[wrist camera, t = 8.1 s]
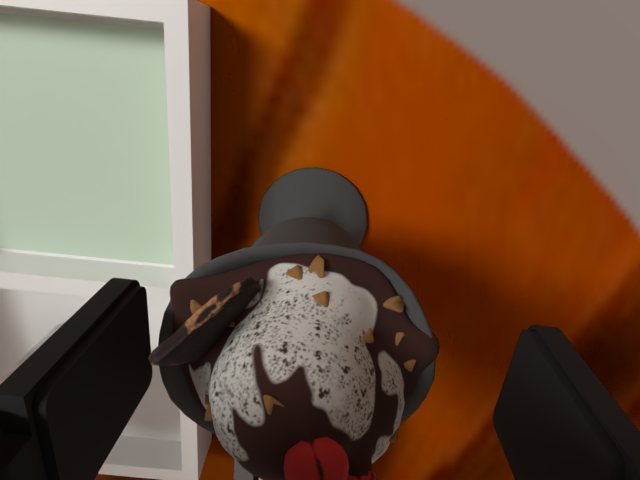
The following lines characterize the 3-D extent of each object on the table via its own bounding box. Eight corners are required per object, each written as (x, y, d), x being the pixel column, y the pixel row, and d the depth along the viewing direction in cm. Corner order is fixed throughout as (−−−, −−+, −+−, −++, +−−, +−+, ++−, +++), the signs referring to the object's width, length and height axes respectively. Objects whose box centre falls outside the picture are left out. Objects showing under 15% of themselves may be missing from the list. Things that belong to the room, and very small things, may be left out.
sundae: (392, 277, 21) (513, 720, 7) (254, 290, 21) (110, 730, 7) (383, 138, 18) (547, 402, 4) (227, 157, 19) (-74, 448, 5)
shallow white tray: (11, 420, 25) (-25, 462, 22) (-99, -27, 16) (-180, -43, 14) (211, 439, 25) (197, 483, 23) (210, 6, 16) (187, -4, 14)
